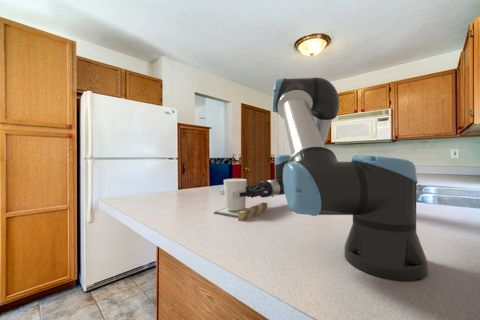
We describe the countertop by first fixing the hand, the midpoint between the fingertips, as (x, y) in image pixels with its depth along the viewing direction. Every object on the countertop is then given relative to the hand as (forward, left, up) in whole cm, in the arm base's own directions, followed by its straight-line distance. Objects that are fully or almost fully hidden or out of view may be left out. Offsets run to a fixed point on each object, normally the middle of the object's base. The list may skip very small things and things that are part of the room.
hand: (225, 193), depth 91 cm
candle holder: (+4, -2, -7) cm, 8 cm away
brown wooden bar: (+5, -10, -8) cm, 14 cm away
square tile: (+4, -2, -8) cm, 10 cm away
